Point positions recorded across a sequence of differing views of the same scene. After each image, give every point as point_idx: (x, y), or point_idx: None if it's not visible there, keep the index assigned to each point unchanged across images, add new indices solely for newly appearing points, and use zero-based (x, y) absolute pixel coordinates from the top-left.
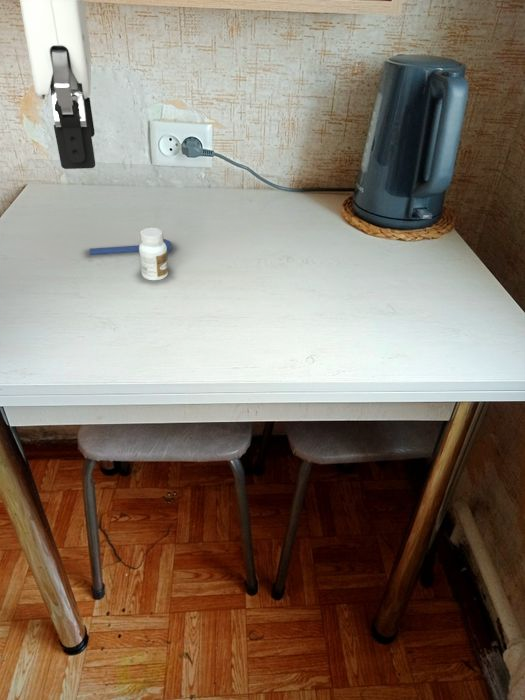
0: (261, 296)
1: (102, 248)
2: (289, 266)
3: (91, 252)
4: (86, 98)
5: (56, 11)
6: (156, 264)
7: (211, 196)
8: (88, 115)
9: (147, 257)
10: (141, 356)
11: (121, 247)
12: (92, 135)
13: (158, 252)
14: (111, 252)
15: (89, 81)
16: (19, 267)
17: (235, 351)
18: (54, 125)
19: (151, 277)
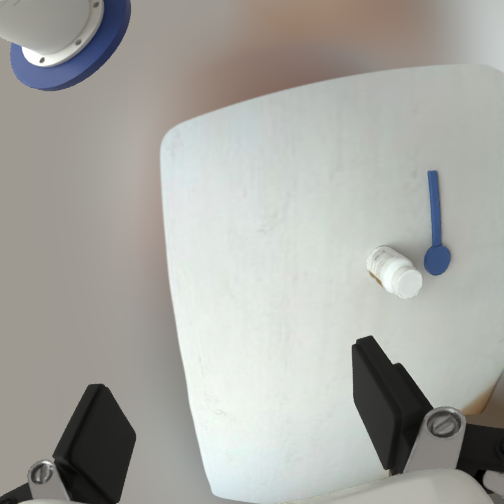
0: (324, 377)
1: (436, 188)
2: None
3: (429, 174)
4: (394, 471)
5: None
6: (375, 276)
7: None
8: (371, 436)
9: (381, 269)
10: (210, 269)
11: (437, 212)
12: (354, 399)
13: (384, 286)
14: (430, 199)
15: None
16: (395, 85)
17: (225, 359)
18: (58, 458)
19: (368, 262)
